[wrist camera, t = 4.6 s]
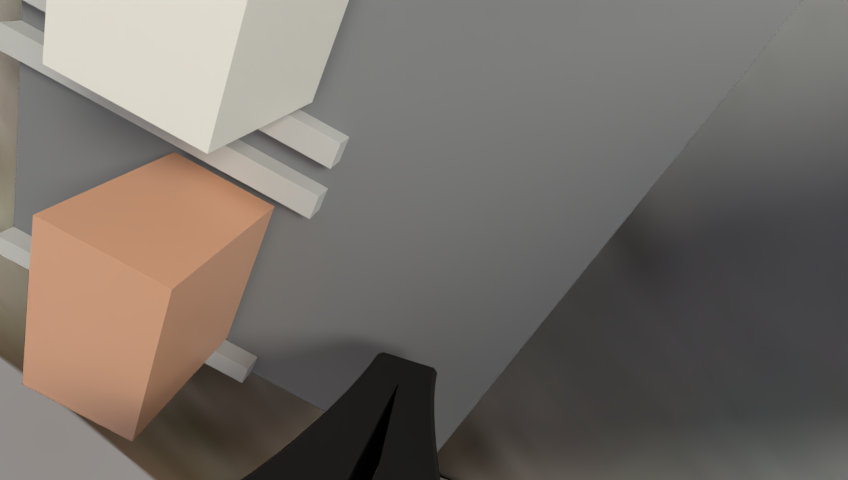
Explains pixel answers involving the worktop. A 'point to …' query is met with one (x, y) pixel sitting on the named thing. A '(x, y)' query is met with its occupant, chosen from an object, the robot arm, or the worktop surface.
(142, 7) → the ivory rectangular block
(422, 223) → the switch panel
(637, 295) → the worktop surface
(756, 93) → the worktop surface
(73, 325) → the salmon orange block
